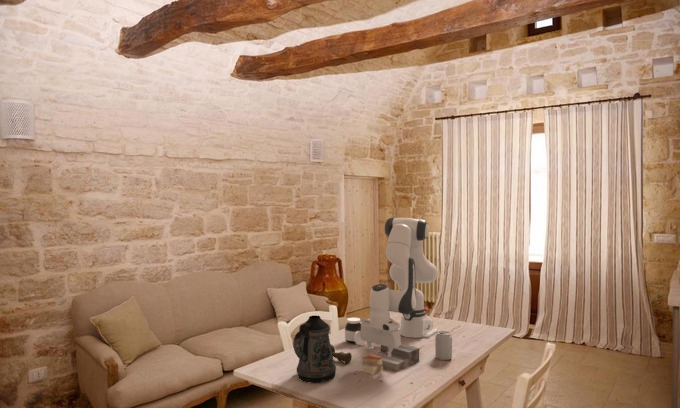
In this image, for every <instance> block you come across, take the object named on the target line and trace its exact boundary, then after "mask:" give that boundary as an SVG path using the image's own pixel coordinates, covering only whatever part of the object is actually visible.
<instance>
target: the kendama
mask: <svg viewBox="0 0 680 408" xmlns="http://www.w3.org/2000/svg"><path fill="white" fill-rule="evenodd" d="M330 346H331V351H332V356H333V358H334V359H337V361H338V362H343V363H344V364H345V365H348V364H350V363H351V362H352V357H353V356H352V353H350V352H347V353H345V352H344V351H340V352H336V348H335V346H334V345H333V344H331V343H330Z"/></svg>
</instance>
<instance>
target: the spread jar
mask: <svg viewBox="0 0 680 408" xmlns="http://www.w3.org/2000/svg"><path fill="white" fill-rule="evenodd" d="M346 320H347V321H346V325H345V326H344V327H345V328H344V339H345V342H347V343H348V344H350V343H351V345H352V344H354V345H357V346H364V345H366V344H367V341H365V340H362V339H361V337H360V332H361V318H359V317H349V318H347V319H346Z"/></svg>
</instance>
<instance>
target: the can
mask: <svg viewBox="0 0 680 408" xmlns="http://www.w3.org/2000/svg"><path fill="white" fill-rule="evenodd" d="M434 339H435V347H434V348H435V350H434V351H435V357H436V358H437V359H438V360H440V361H449V360H451V359H452V358H453V336H452V333H451V332H449V331H448V330H447V331H446V330H438V331H437V332H436V334H435V337H434Z"/></svg>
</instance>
